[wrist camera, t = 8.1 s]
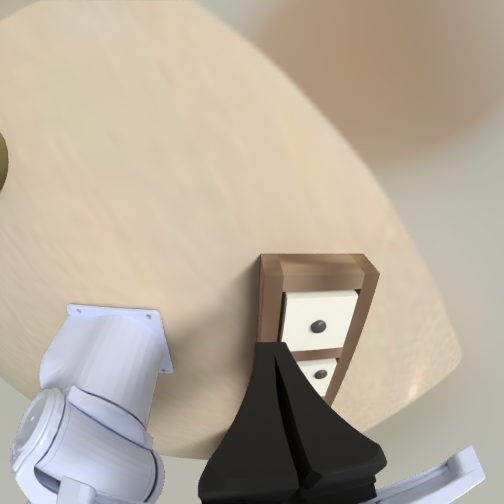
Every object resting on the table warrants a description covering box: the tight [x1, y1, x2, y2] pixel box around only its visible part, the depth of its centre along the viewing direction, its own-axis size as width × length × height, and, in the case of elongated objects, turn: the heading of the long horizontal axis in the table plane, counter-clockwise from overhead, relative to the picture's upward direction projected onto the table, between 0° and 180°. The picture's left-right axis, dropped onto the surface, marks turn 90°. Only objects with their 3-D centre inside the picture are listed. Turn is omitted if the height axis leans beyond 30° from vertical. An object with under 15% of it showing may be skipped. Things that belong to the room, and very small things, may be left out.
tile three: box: [297, 358, 337, 396], centre depth 23 cm, size 5×5×3 cm
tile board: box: [256, 254, 380, 407], centre depth 24 cm, size 8×22×3 cm, turn 178°
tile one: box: [278, 289, 358, 351], centre depth 20 cm, size 5×5×3 cm
